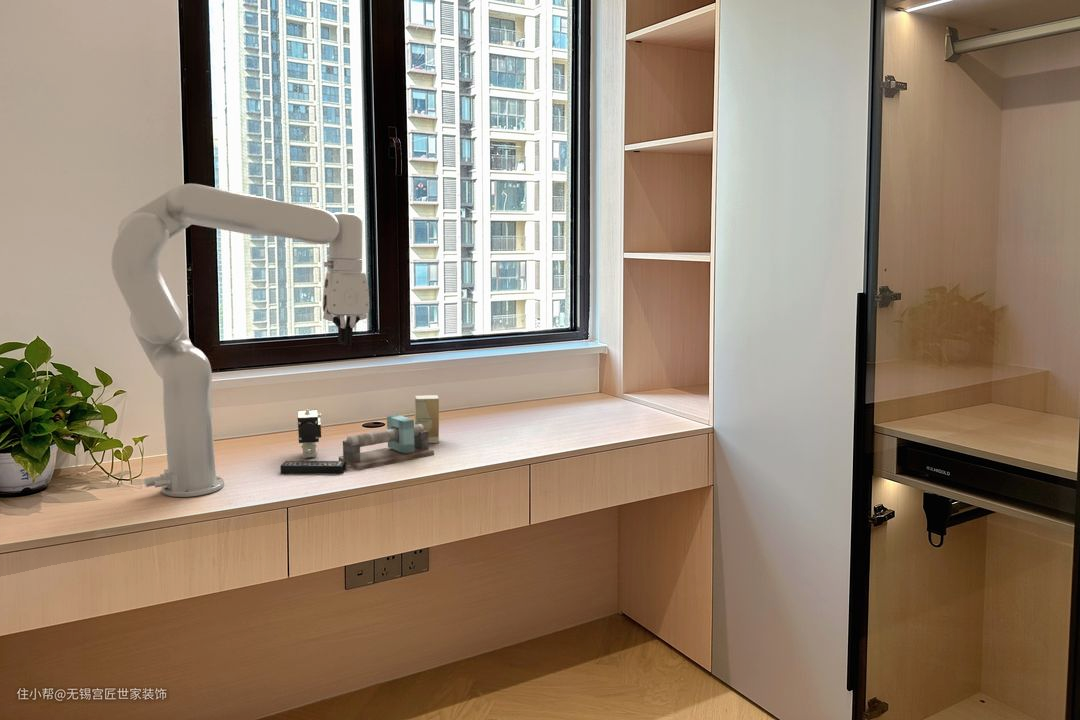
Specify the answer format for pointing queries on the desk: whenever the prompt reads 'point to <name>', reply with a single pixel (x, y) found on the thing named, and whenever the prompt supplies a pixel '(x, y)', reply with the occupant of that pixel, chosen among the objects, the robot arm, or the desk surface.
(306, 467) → the multiport hub
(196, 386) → the robot arm
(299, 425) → the pneumatic valve
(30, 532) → the desk surface
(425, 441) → the pipe stand
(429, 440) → the skincare box
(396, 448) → the collar
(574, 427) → the desk surface
